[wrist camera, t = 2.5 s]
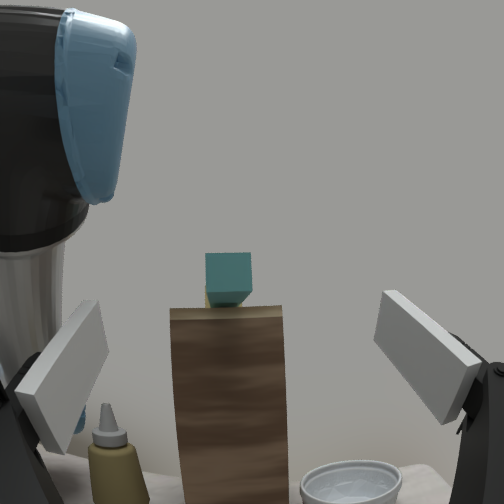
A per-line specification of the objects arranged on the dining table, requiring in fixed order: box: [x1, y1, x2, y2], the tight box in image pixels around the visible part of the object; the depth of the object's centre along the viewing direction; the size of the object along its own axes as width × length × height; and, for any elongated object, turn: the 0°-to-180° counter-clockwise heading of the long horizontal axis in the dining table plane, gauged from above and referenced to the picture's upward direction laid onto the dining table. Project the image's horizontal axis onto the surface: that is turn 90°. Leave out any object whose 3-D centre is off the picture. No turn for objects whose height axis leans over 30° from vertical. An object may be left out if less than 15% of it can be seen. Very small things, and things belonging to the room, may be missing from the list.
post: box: [170, 305, 289, 504], centre depth 36 cm, size 12×12×30 cm
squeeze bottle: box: [88, 403, 150, 504], centre depth 31 cm, size 8×8×18 cm
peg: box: [205, 253, 252, 308], centre depth 36 cm, size 23×5×4 cm, turn 6°
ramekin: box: [300, 460, 402, 504], centre depth 30 cm, size 13×13×7 cm
